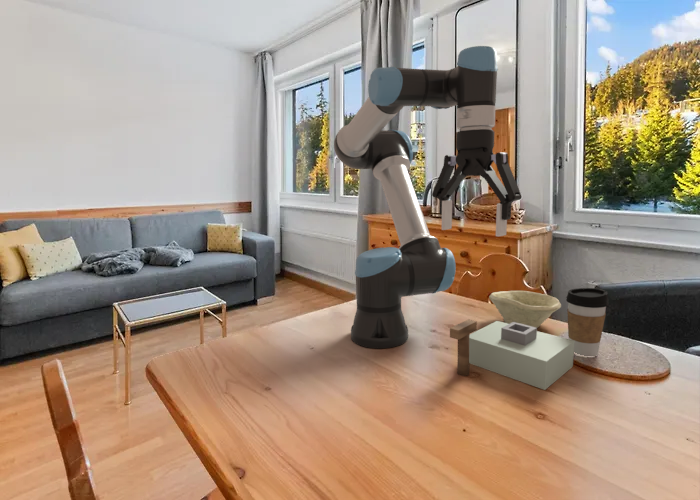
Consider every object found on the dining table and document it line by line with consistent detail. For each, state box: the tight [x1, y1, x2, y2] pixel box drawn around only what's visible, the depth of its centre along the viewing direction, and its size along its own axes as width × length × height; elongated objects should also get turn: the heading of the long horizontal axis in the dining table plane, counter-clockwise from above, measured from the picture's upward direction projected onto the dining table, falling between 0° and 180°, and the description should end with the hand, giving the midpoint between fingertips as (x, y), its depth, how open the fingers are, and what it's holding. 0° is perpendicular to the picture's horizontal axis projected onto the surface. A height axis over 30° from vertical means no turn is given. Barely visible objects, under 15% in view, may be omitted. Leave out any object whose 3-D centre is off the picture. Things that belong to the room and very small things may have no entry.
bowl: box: [488, 290, 562, 329], centre depth 115 cm, size 14×18×15 cm
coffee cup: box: [565, 287, 610, 356], centre depth 96 cm, size 8×8×15 cm
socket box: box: [469, 320, 575, 391], centre depth 92 cm, size 18×14×8 cm
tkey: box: [449, 318, 478, 377], centre depth 88 cm, size 7×2×11 cm, turn 132°
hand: (472, 232), depth 89 cm, fingers open, 13 cm apart
